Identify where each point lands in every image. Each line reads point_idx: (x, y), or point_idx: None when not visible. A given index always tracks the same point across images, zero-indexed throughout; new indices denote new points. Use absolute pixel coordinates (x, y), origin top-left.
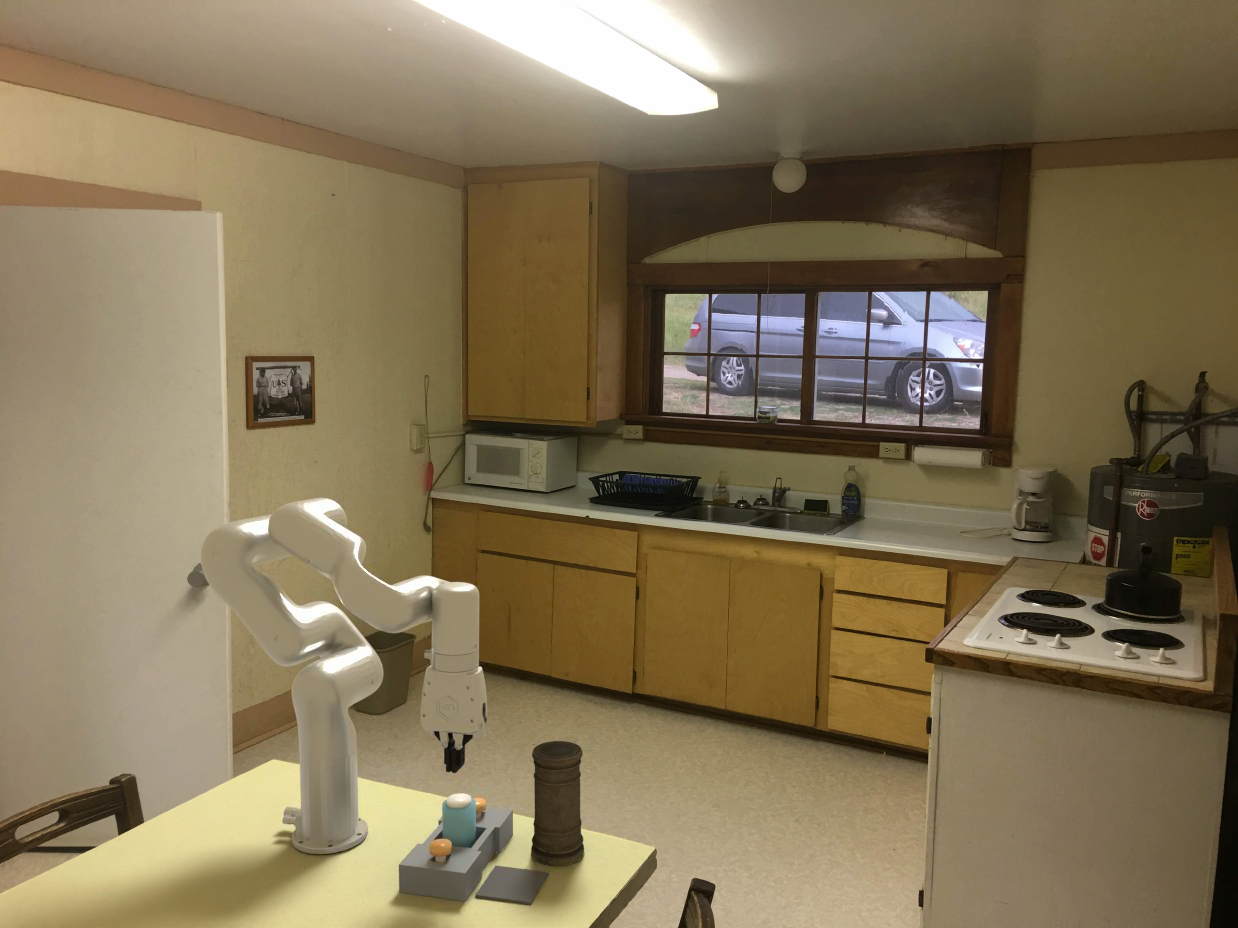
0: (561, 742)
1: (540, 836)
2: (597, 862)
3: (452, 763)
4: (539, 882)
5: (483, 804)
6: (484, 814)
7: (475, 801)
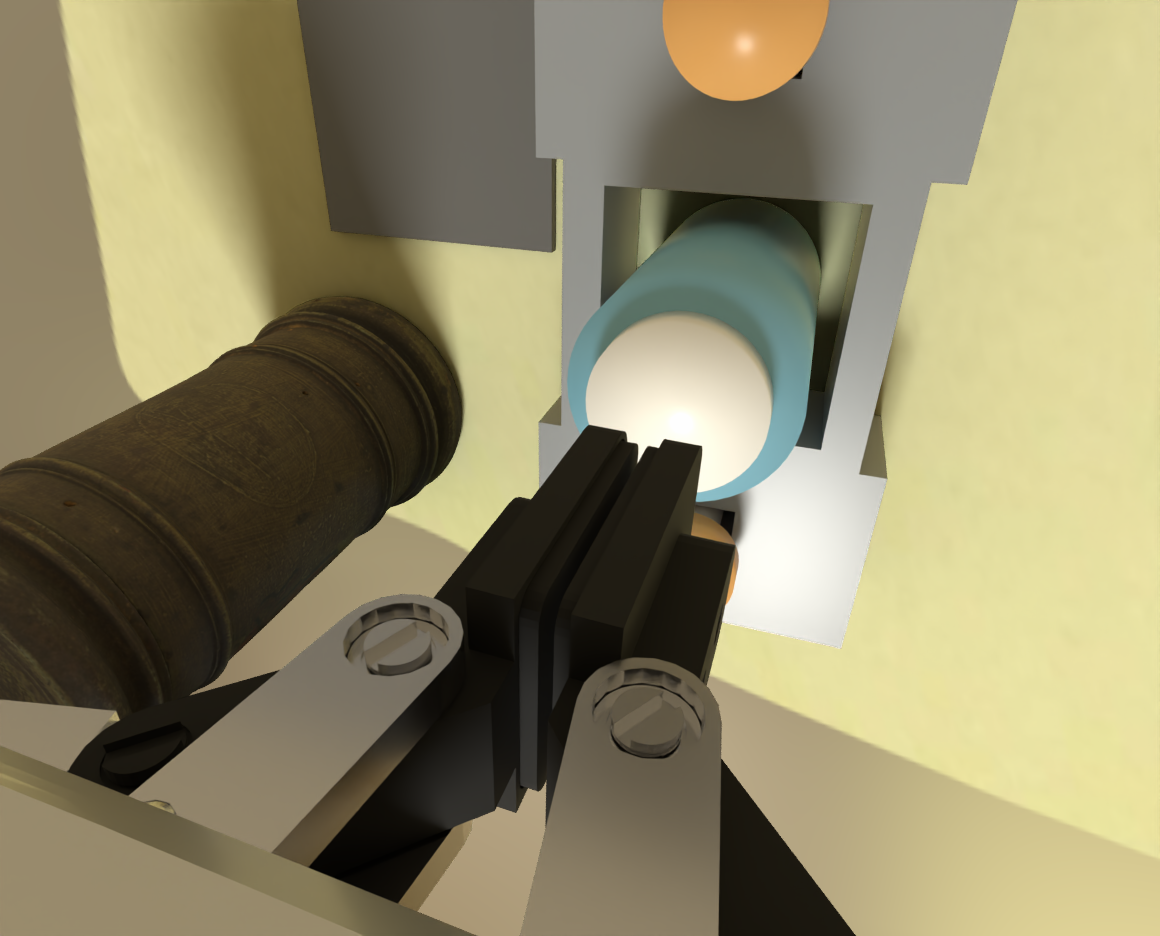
0: None
1: (341, 360)
2: (226, 340)
3: (586, 479)
4: (328, 135)
5: None
6: None
7: None
